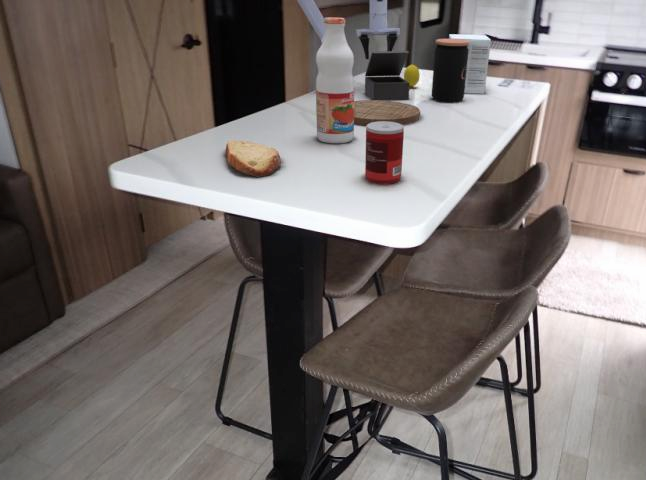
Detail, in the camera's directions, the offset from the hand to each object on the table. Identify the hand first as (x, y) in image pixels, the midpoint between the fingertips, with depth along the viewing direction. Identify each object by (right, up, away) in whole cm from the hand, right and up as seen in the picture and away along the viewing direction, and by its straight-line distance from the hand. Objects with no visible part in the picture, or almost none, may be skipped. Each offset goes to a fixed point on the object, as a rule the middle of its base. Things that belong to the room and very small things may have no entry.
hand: (377, 58), depth 202 cm
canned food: (0, -57, -77) cm, 95 cm away
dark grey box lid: (+3, -5, -8) cm, 10 cm away
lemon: (+12, -6, +11) cm, 17 cm away
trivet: (-1, -28, -28) cm, 40 cm away
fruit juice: (-12, -41, -51) cm, 66 cm away
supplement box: (+31, -7, +10) cm, 33 cm away
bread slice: (-30, -52, -69) cm, 91 cm away
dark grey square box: (+3, -14, -4) cm, 15 cm away
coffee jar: (+23, -16, -6) cm, 28 cm away
